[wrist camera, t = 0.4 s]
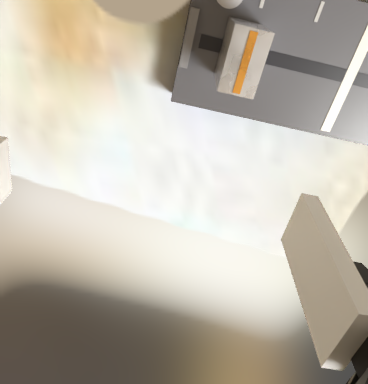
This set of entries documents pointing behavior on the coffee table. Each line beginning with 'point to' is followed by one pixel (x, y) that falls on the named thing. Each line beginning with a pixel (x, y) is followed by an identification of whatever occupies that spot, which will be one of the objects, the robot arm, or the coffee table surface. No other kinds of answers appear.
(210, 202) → the coffee table surface
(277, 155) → the coffee table surface
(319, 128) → the console
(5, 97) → the coffee table surface
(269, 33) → the fader
